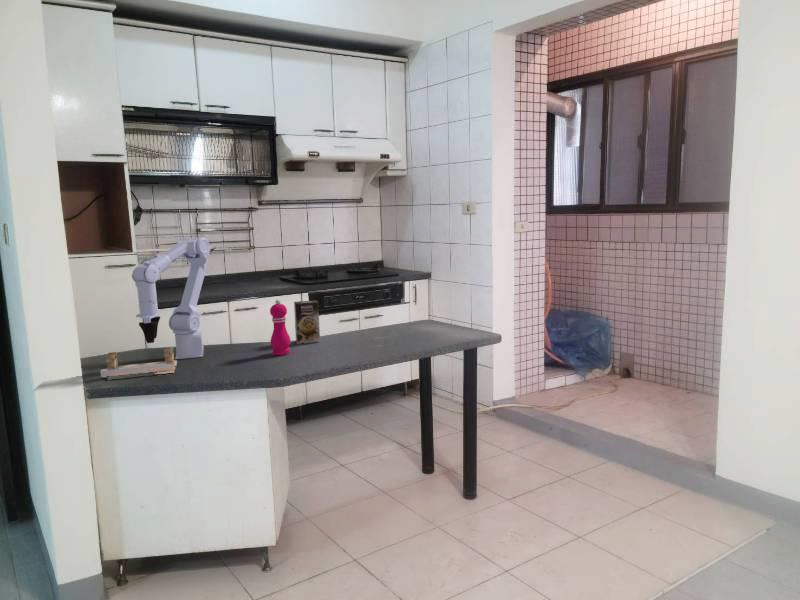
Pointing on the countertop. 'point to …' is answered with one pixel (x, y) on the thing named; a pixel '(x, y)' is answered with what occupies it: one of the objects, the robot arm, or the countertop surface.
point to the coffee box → (307, 322)
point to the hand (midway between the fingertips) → (151, 340)
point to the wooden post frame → (113, 363)
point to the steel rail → (138, 369)
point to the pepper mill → (279, 330)
